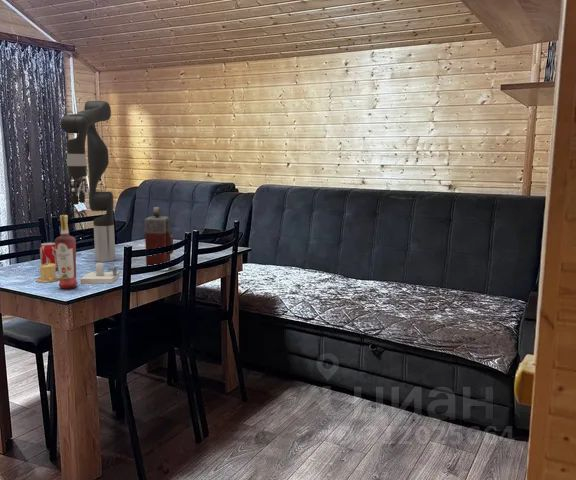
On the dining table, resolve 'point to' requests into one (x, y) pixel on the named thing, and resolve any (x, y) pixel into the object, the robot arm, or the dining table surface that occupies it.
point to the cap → (48, 271)
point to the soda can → (48, 254)
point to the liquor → (66, 256)
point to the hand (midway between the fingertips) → (79, 203)
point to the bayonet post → (100, 275)
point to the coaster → (47, 280)
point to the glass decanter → (157, 237)
